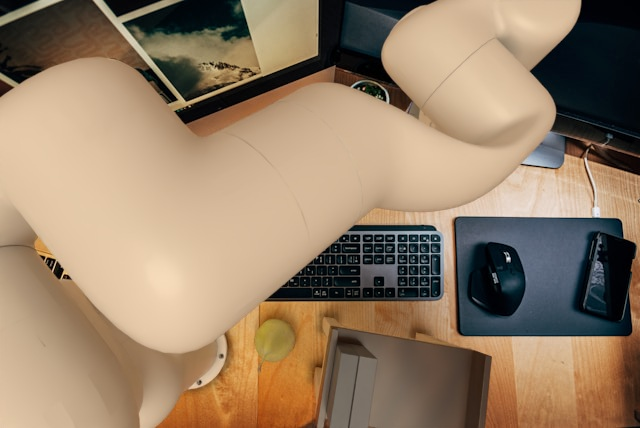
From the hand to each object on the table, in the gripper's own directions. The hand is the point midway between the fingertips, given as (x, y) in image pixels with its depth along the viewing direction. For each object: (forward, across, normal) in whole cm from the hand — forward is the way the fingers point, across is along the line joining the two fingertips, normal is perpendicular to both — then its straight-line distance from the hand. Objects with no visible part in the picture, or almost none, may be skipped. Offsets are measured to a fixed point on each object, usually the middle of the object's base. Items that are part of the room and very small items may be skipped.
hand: (425, 135), depth 62 cm
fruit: (+21, +33, -16) cm, 43 cm away
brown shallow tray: (-1, +34, 0) cm, 34 cm away
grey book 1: (-2, +34, -8) cm, 34 cm away
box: (+4, 0, 0) cm, 4 cm away
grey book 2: (-2, +34, -6) cm, 34 cm away
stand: (+21, +33, +1) cm, 39 cm away
